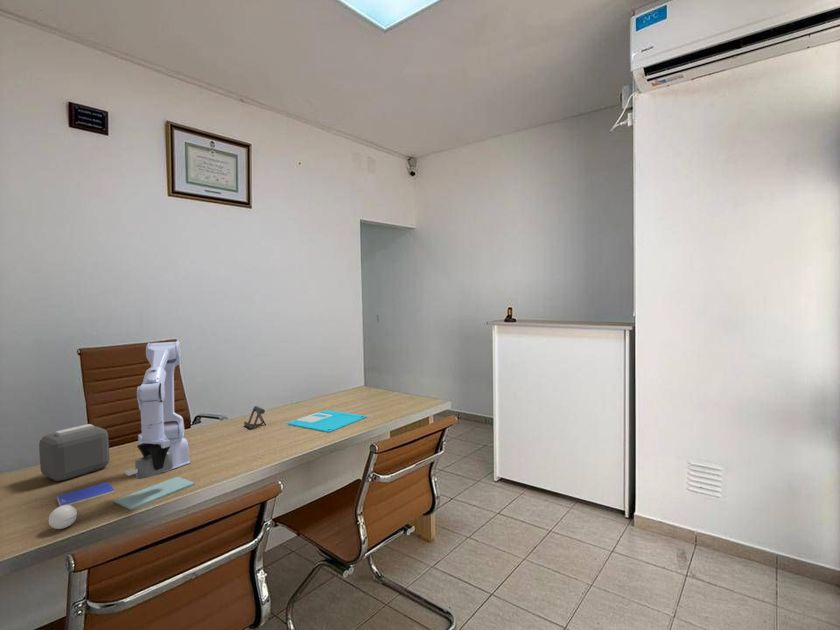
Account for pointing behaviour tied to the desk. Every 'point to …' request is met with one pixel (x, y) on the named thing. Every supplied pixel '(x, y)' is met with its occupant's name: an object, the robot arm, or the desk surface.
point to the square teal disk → (326, 420)
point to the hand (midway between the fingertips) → (155, 467)
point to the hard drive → (85, 494)
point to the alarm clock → (73, 452)
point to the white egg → (62, 517)
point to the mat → (153, 493)
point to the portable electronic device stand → (259, 412)
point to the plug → (149, 466)
